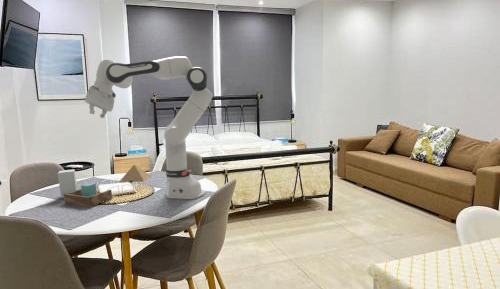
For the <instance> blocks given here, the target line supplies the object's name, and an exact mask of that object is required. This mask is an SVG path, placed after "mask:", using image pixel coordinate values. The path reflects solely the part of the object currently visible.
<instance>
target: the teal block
mask: <svg viewBox="0 0 500 289" xmlns="http://www.w3.org/2000/svg"><path fill="white" fill-rule="evenodd" d="M96 184H97V183H91V182H87V183H85V184H81V185H80V187H81V188H80V189H81V190H82V196H87V197H90V196H93V195H96V194H97V187H96V186H97V185H96Z"/></svg>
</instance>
